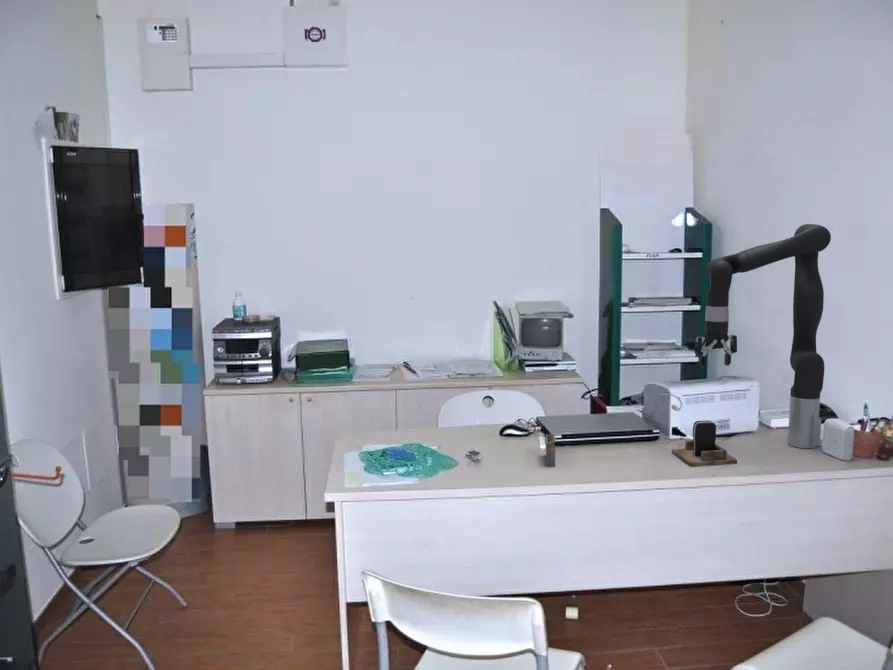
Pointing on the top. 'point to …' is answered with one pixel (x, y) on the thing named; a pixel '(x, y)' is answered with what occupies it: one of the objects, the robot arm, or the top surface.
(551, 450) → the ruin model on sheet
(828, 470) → the top surface
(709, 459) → the u rest
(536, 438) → the top surface
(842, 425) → the photo printer
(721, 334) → the robot arm
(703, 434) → the battery
